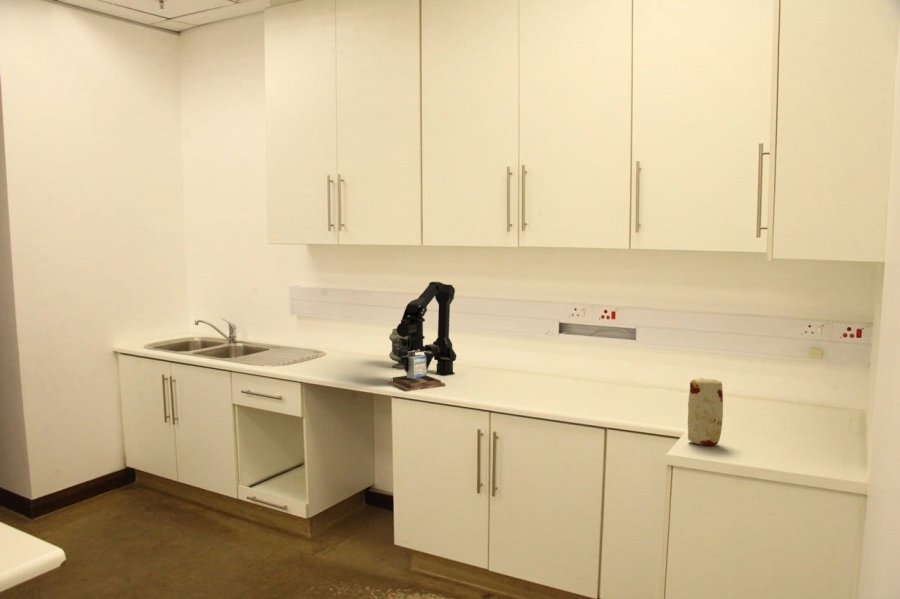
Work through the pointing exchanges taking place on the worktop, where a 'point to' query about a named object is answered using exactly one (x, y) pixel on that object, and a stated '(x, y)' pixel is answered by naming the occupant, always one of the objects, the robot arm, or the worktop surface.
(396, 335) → the grey ornate vase
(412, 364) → the medicine box
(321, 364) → the worktop surface
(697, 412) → the food model
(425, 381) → the walnut tray
